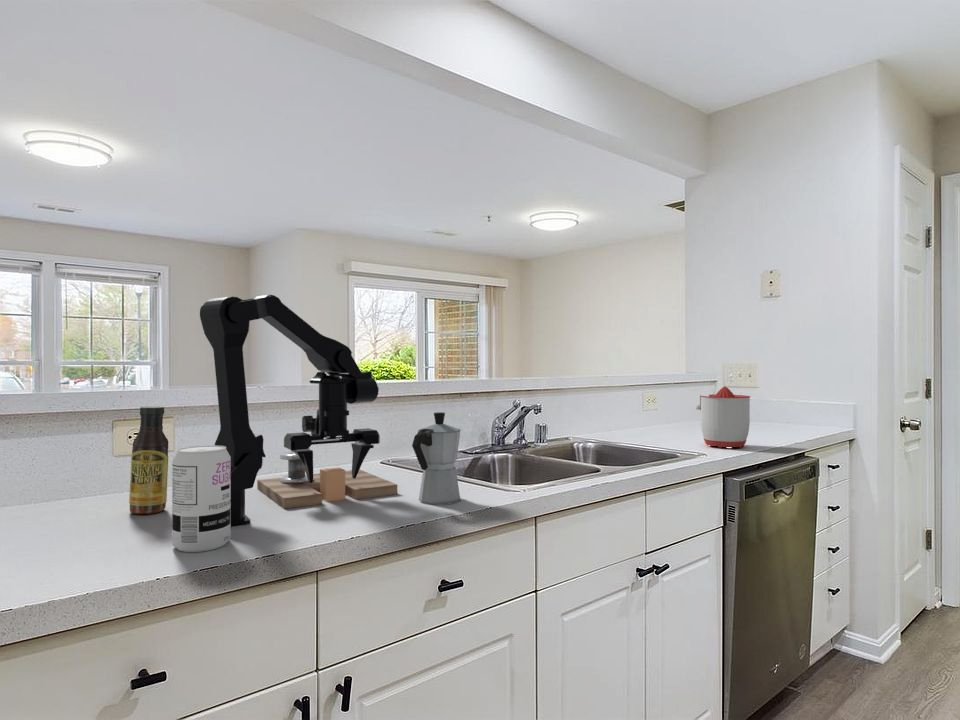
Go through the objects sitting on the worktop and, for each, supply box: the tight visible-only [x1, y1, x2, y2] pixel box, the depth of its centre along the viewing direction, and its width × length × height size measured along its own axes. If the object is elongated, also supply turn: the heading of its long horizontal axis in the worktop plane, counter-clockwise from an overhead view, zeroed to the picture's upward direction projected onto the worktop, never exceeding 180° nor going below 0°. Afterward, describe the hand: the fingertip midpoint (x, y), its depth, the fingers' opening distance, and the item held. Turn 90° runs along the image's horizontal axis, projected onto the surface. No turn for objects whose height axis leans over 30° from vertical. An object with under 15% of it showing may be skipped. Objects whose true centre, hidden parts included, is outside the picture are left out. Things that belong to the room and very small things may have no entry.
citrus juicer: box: [696, 386, 751, 448], centre depth 204 cm, size 16×17×20 cm
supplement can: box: [171, 444, 232, 553], centre depth 95 cm, size 8×8×15 cm
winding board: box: [256, 468, 398, 509], centre depth 133 cm, size 22×24×2 cm
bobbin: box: [279, 451, 309, 484], centre depth 135 cm, size 7×7×6 cm
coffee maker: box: [411, 411, 461, 506], centre depth 125 cm, size 15×9×18 cm, turn 149°
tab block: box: [319, 466, 346, 502], centre depth 127 cm, size 4×4×6 cm
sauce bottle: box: [128, 405, 169, 515], centre depth 116 cm, size 6×6×20 cm
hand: (332, 480), depth 127 cm, fingers open, 9 cm apart
